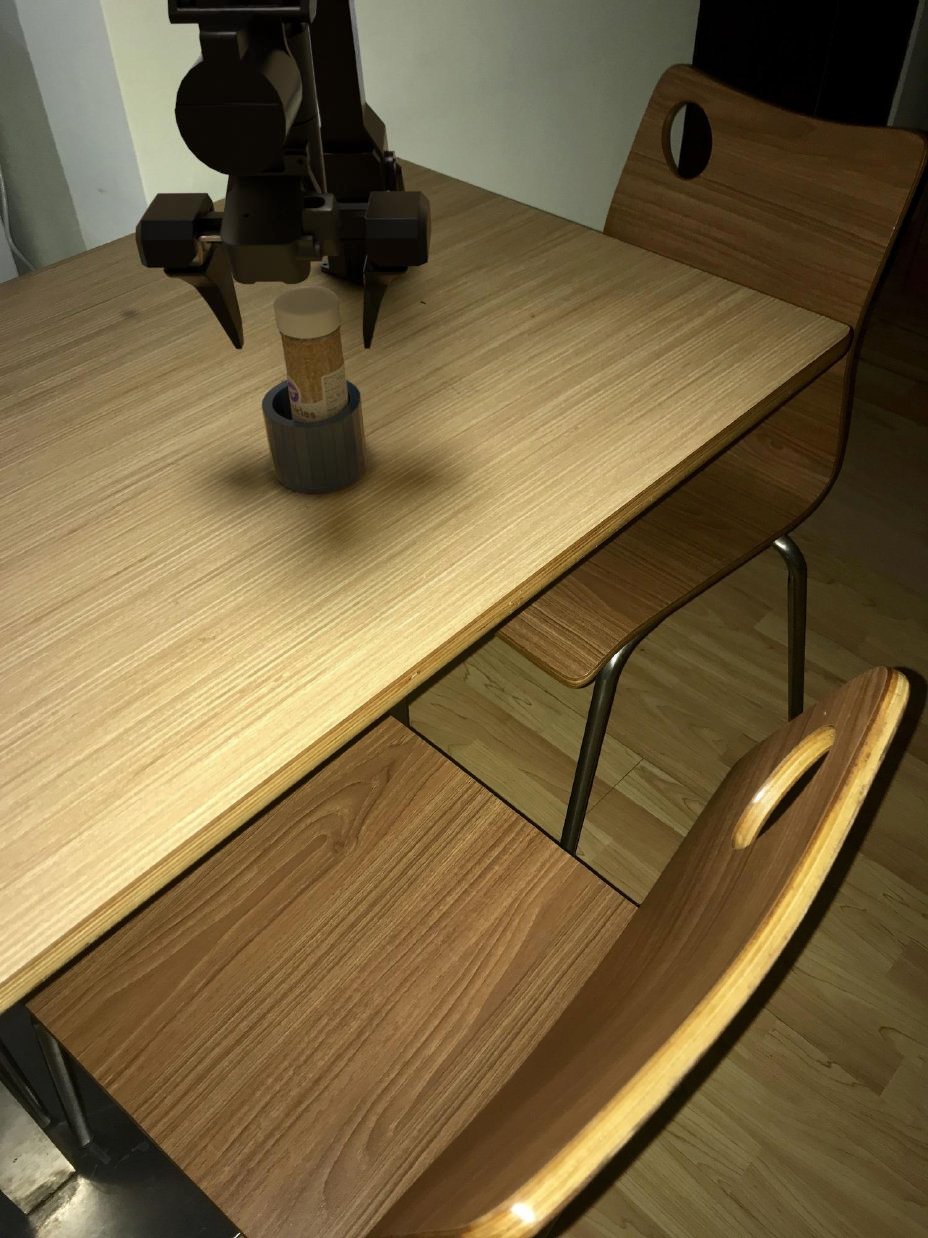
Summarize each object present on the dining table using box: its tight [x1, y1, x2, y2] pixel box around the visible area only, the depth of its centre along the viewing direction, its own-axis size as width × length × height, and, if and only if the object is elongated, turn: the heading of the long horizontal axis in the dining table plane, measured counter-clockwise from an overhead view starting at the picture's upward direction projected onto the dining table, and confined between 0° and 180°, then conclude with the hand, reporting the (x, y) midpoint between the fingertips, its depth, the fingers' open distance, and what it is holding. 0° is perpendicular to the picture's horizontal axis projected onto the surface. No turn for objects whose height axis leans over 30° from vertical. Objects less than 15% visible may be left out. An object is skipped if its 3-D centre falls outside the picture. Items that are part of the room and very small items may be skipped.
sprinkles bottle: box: [273, 285, 349, 422], centre depth 74 cm, size 5×5×14 cm
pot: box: [261, 379, 368, 495], centre depth 76 cm, size 7×7×6 cm
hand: (304, 346), depth 71 cm, fingers open, 9 cm apart
